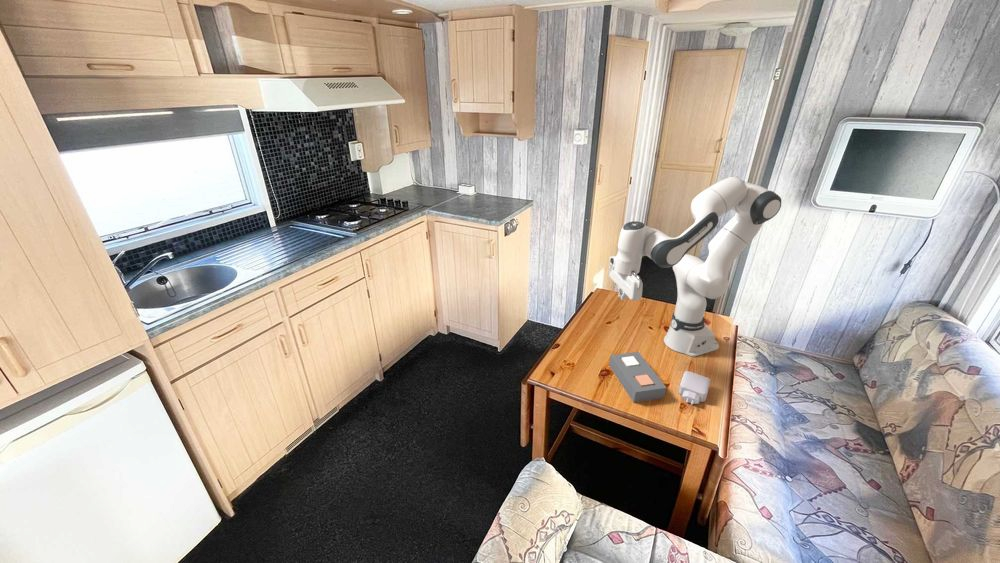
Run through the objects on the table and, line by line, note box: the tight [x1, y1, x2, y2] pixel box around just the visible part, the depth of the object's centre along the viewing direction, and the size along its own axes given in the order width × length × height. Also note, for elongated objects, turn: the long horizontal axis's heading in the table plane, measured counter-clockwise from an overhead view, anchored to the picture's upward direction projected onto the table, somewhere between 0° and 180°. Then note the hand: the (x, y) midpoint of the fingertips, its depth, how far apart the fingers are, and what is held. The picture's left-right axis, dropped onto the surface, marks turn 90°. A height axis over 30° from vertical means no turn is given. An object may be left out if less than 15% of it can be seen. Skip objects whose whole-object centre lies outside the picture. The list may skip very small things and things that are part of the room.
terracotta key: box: [635, 374, 654, 387], centre depth 148 cm, size 5×5×3 cm
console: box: [608, 351, 667, 403], centre depth 153 cm, size 12×21×5 cm, turn 11°
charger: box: [677, 370, 712, 406], centre depth 147 cm, size 5×9×15 cm
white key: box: [621, 356, 639, 367], centre depth 158 cm, size 5×5×3 cm
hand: (622, 298), depth 152 cm, fingers closed
